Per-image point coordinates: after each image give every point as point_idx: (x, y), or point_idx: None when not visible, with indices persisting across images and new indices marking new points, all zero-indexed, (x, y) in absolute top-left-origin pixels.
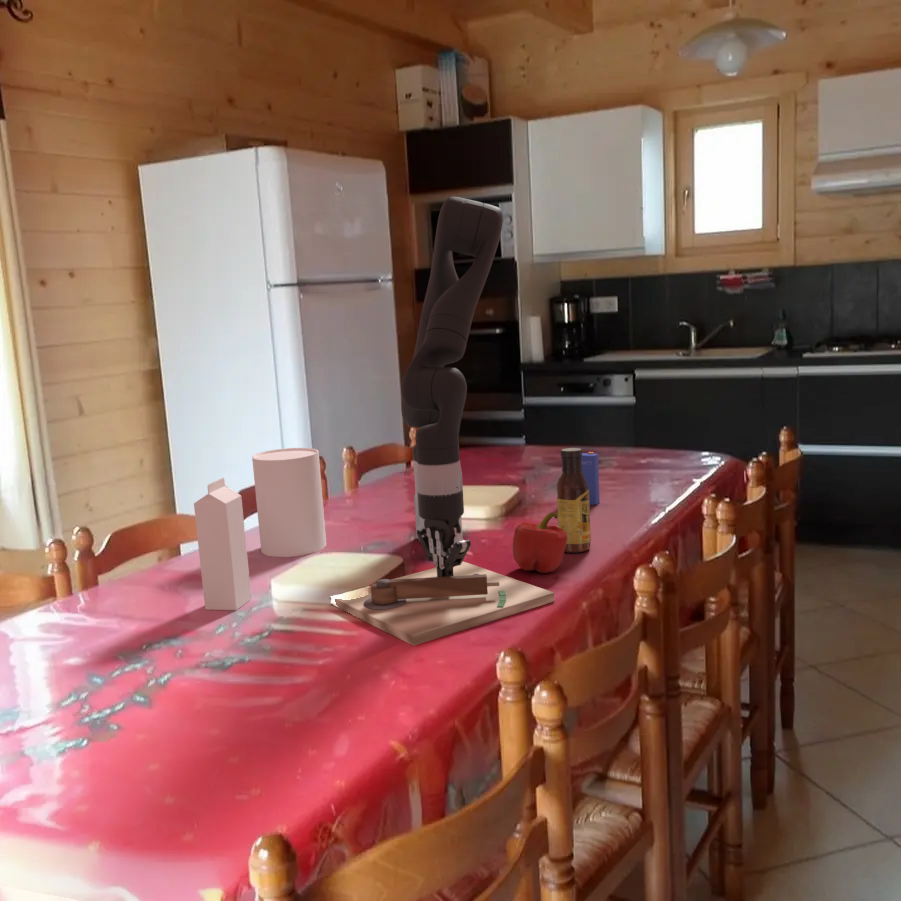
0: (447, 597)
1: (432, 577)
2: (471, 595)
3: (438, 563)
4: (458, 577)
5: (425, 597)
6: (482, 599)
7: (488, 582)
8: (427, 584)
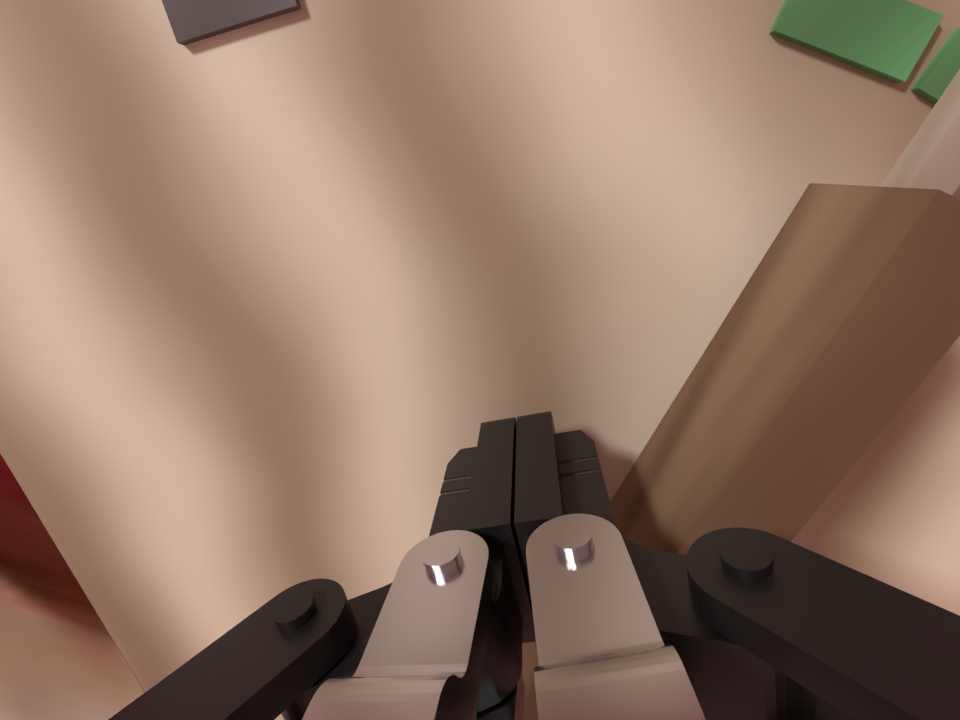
0: (611, 460)
1: None
2: (688, 299)
3: (519, 690)
4: (773, 509)
5: None
6: None
7: (931, 188)
8: None
